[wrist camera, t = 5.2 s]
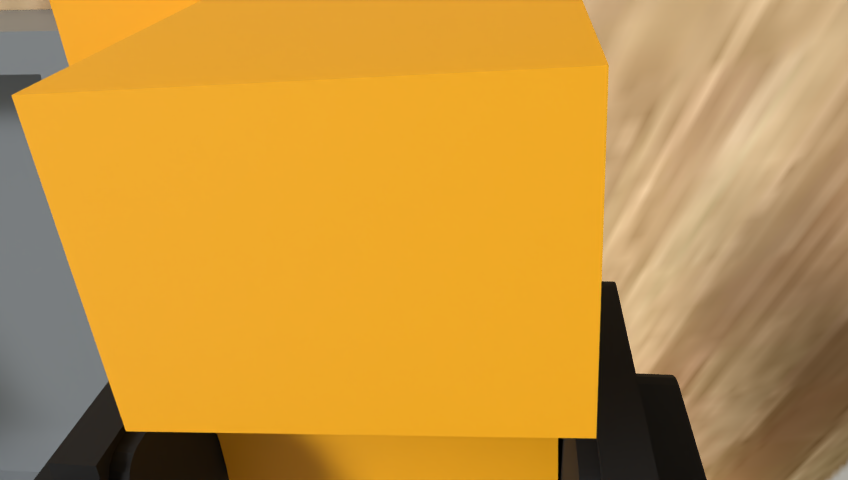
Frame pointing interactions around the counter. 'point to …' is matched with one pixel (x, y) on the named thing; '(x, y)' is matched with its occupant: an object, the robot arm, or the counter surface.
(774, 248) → the counter surface
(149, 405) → the orange toy block
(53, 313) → the tray
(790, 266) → the counter surface
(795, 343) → the counter surface
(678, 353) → the counter surface
